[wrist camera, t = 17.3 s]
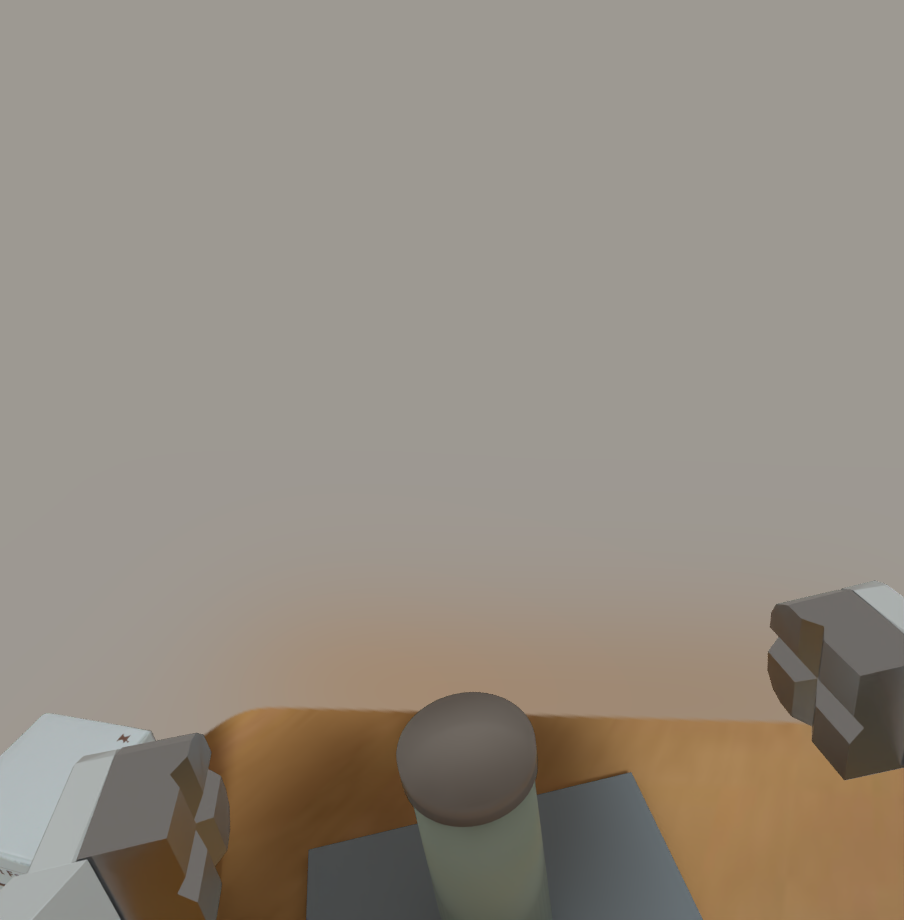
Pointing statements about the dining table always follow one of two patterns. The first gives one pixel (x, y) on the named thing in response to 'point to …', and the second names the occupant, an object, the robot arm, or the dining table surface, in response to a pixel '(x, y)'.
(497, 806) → the ceramic jar
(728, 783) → the dining table surface
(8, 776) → the supplement box
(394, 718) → the dining table surface
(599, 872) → the cutting board
